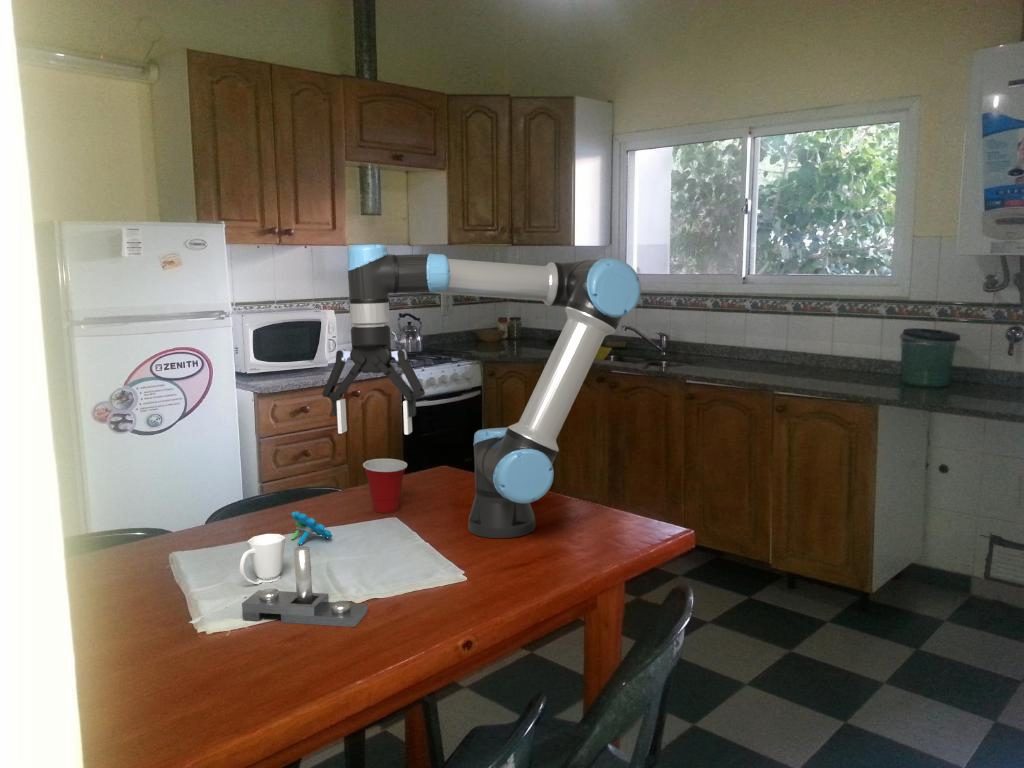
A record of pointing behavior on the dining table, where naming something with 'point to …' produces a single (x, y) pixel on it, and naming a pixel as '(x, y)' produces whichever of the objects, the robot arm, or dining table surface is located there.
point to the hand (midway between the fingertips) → (375, 432)
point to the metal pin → (303, 575)
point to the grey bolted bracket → (302, 609)
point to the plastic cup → (385, 483)
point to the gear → (308, 527)
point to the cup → (265, 557)
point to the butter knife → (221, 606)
